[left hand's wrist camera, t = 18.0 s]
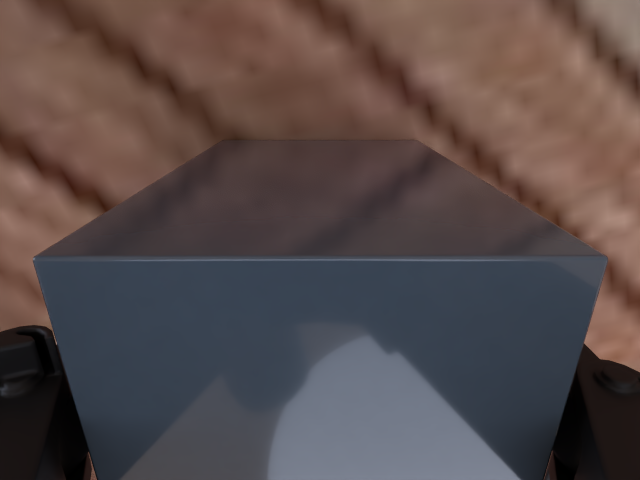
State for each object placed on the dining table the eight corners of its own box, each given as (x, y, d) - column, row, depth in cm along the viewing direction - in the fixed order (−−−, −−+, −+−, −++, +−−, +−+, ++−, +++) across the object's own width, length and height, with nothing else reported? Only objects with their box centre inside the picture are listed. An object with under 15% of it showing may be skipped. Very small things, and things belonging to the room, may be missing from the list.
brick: (237, 312, 18) (132, 605, 8) (221, 140, 16) (29, 257, 5) (402, 311, 18) (508, 604, 8) (418, 139, 16) (611, 256, 5)
